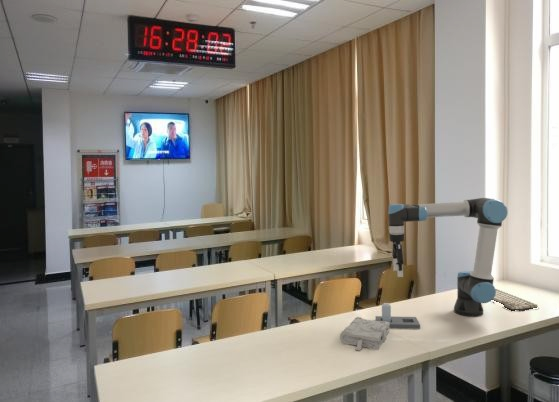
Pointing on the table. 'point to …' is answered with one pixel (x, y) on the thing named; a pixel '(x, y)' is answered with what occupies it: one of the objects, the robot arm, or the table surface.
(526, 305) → the mechanical keyboard
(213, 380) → the table surface
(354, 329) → the grey lumpy block
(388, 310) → the plug
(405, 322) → the jack panel
